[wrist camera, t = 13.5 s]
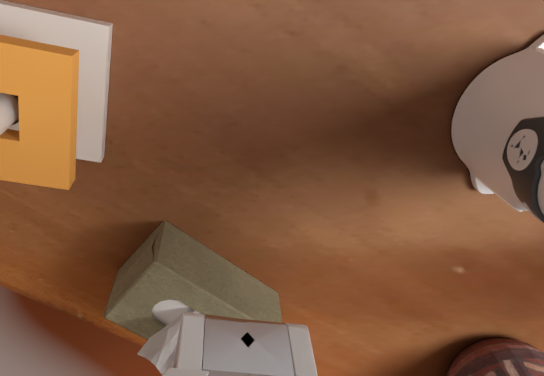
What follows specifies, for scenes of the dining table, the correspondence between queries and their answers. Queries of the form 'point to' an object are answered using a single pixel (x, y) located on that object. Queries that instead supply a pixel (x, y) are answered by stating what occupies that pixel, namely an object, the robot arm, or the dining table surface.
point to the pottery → (498, 359)
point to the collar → (40, 112)
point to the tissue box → (181, 291)
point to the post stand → (92, 68)
